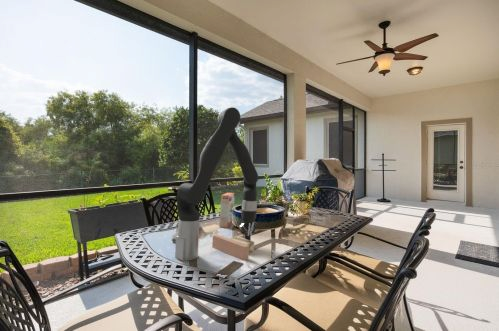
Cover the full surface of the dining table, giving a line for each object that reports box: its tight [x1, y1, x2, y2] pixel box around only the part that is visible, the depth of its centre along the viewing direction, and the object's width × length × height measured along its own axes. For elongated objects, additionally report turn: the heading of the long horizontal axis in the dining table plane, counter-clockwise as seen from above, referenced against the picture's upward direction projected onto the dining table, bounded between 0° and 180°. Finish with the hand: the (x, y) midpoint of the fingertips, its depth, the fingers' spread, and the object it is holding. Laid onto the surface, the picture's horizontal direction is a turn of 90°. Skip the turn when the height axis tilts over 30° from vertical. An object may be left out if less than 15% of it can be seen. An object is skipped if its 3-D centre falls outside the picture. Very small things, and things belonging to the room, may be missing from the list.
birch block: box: [228, 235, 255, 254], centre depth 138 cm, size 6×12×5 cm, turn 48°
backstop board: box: [211, 234, 250, 261], centre depth 133 cm, size 3×22×6 cm, turn 48°
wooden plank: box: [213, 260, 244, 276], centre depth 113 cm, size 17×1×5 cm
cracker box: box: [218, 192, 236, 229], centre depth 183 cm, size 14×6×21 cm, turn 168°
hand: (247, 242), depth 142 cm, fingers closed
